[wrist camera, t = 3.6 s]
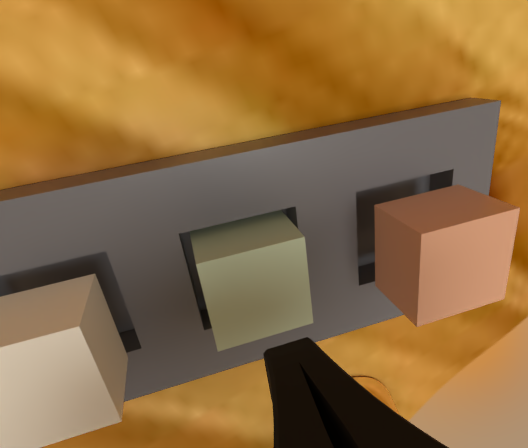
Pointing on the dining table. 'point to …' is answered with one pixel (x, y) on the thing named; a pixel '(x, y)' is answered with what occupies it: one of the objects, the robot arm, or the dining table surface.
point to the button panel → (234, 208)
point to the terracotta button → (443, 251)
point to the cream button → (58, 364)
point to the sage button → (253, 277)
